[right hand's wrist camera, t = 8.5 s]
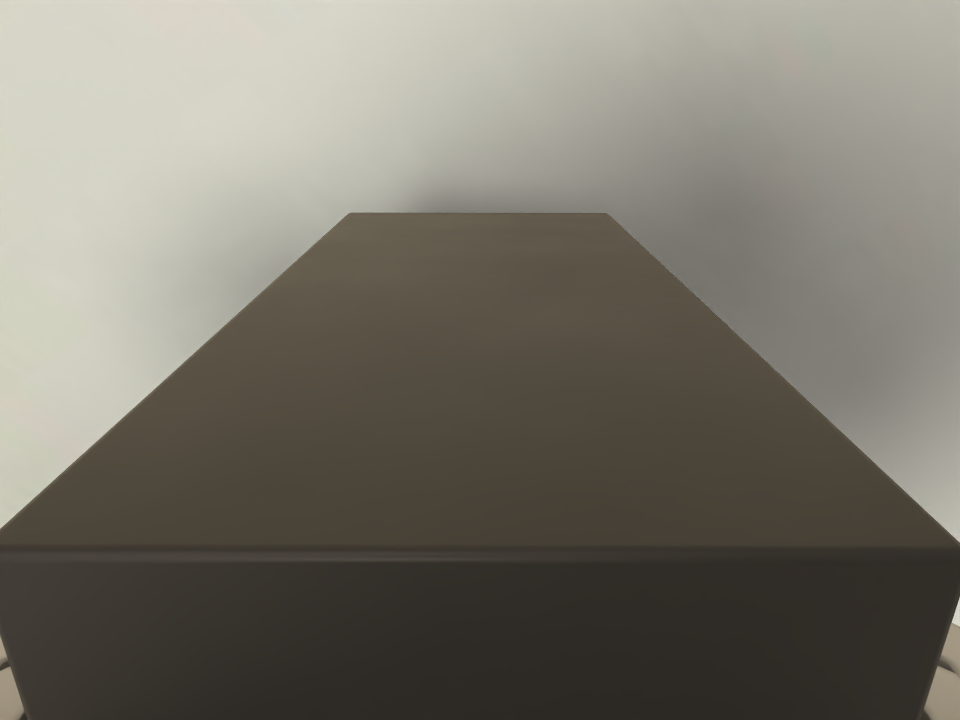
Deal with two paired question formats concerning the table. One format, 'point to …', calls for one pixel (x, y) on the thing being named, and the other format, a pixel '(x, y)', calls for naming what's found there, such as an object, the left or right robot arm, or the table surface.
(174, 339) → the table surface
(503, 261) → the box
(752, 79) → the table surface
